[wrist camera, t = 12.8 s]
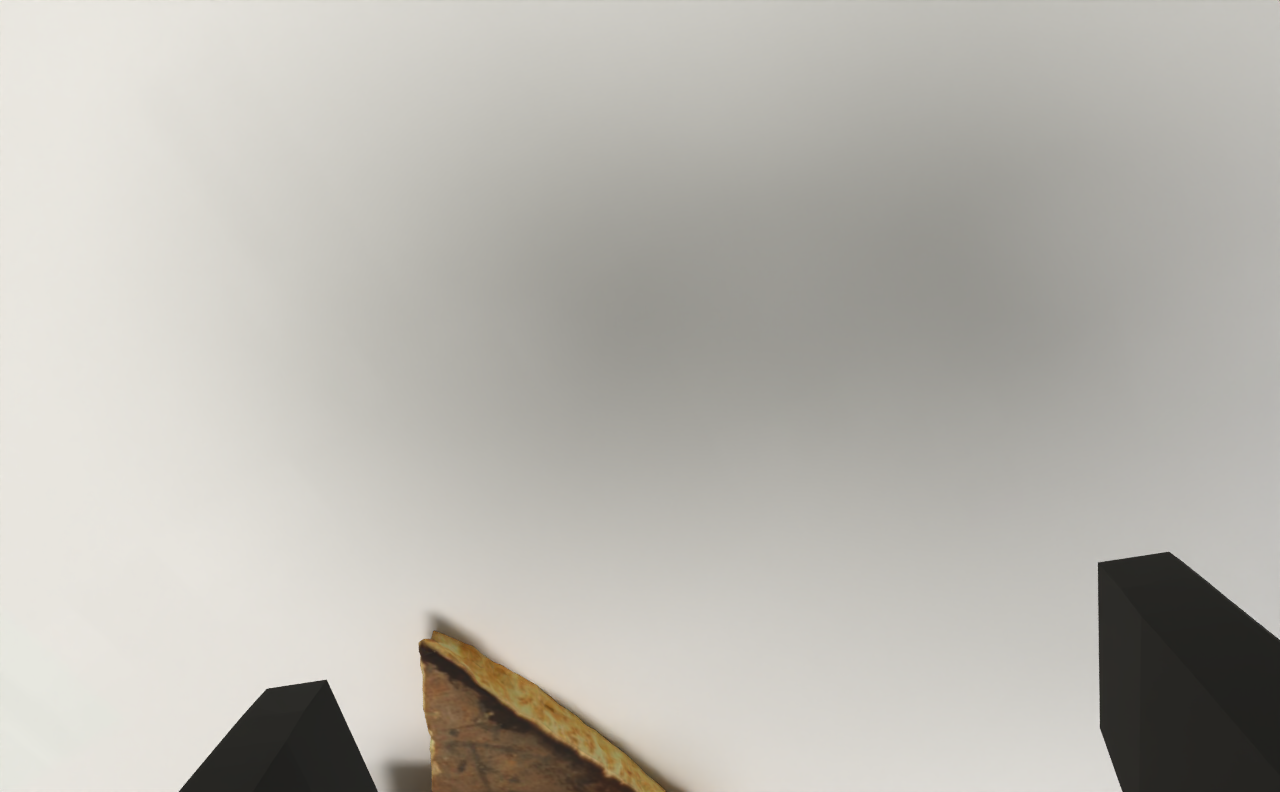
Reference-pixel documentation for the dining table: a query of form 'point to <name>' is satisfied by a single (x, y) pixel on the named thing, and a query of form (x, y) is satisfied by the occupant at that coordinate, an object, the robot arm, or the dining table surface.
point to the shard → (510, 731)
